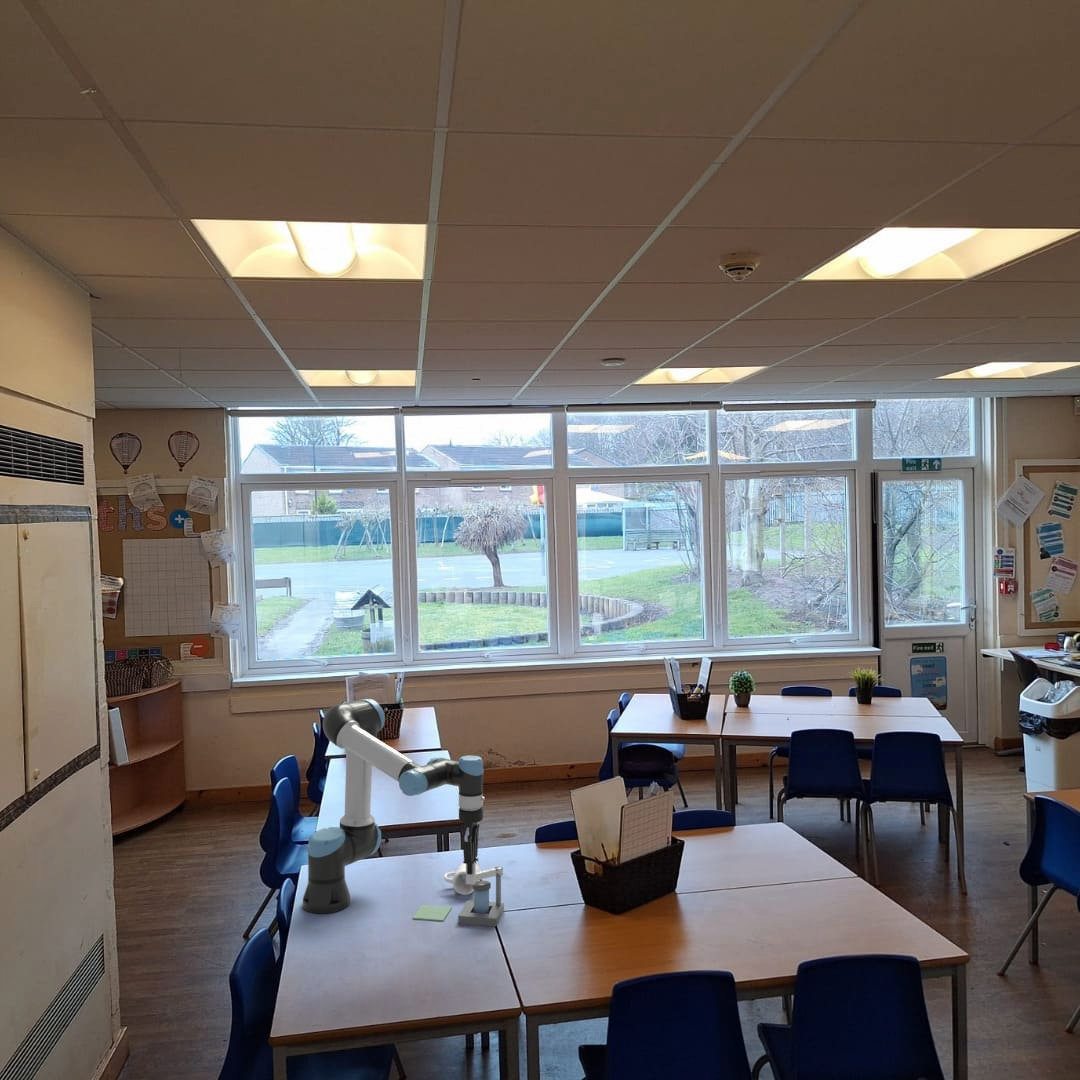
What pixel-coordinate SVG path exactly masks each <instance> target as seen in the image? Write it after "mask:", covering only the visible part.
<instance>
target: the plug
mask: <svg viewBox="0 0 1080 1080" xmlns="http://www.w3.org/2000/svg"><path fill="white" fill-rule="evenodd" d="M491 886H492V885H491V882H490V881H488V880H479V881H476V883H475V884H472V888H473V889H474V891H473V901H474V913H484V914H489V902H490V889H491V888H492V887H491Z"/></svg>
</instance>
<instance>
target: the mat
mask: <svg viewBox="0 0 1080 1080" xmlns="http://www.w3.org/2000/svg"><path fill="white" fill-rule="evenodd" d="M452 908H453V907H452V906H441V905H429V904H428V905H427V904H421V905H420V906H419V908H418V910H417V911H416V912H415V914H414V915H413V916H412V919H413V920H421V921H422V920H423V921H434V922H435V921H437V922H444V921H445V920H446V918H447V916H448V915H449V913H450V912H451V911H452Z"/></svg>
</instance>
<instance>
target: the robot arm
mask: <svg viewBox="0 0 1080 1080" xmlns="http://www.w3.org/2000/svg"><path fill="white" fill-rule="evenodd" d="M384 712H385V711H384V710H383V708H382V707H381V705H380V703H378V702H377V701H376V700H374V699H371V698H365V699H364V698H363V699H362V698H361V699H356V700H353V701H349V702H344V703H339V704H335V705H334V706H332V707H330V709H328V710H327V711H326V713H325V715H324V716H323V720H322V729H323V732H324V735H325V737H326V738H327V739H328V741H330V742H331V744H334V745H335V746H336V747H338V748H339V749H342V750H343V749H346V754H345V757H346V758H345V759H346V761H345V785H344V786H345V787H344V788H345V790H344V814H343V816H342V817H341V818H339V827H336V826H334V827H331V826H330V827H327V828H325V827H324V828H322V829H319V830H317V831H314V833H312V834H311V835H310V837H309V839H308V846H307V868H308V869H307V872H308V877H307V878H308V879H307V885H306V887H305V892H304V895H303V897H302V908H303V910H304V911H306V912H308V913H312V914H332V913H337V912H339V911H343V910H344V909H346V908H347V907H348V906H350V904H351V894H350V891H349V888H348V884H347V882H346V877H345V876H346V867H347V866H350V865H352V864H354V863H357V862H359V861H361V860H365V859H367V858H368V857H370V856H372V855H374V854H375V853H376V852H377V851H378V849H379V847H380V846H381V842H382V831H381V828H380V829H379V825H378V823H377V822H375V821H376V819H375V817H374V816H373V815H372V814H371V807H372V806H371V804H372V776H373V775H372V773H373V772H372V768H373V767H375V768H376V769H377V770H379V771H381V772H382V773H384V774H386V775H387V776H389V777H390V778H391V779H393V780H395V781H396V782H398V785H399V789H400V790H401V791H402V792H401V793H402V794H404V795H405V796H407V797H408V796H409V797H413V796H419V795H421V794H424V793H425V792H428V791H431V790H433V789H436V788H439V787H442V786H445V785H449V786H455V787H458V807H459V808H458V820H459V822H461V823H464V826H463V830H462V832H463V835H462V836H461V840H462V848H463V850H462V851H463V861H462V863H465V864H466V884H475V883H476V864H477V863H476V862H478V861H479V858H478V855H479V853H478V850H479V849H478V848H479V832H480V823H479V822H481V821H483V819H484V808H483V805H484V801H485V800H486V799H485V796H483V795H484V788H483V787H484V773H485V770H484V762H483V761H484V760H483V759H482V757H481V756H478V755H469V754H468V755H463V756H461V757H459V759H458V760H454V759H453V760H452V759H448V758H444V757H432V758H430V760H429V761H428V762H427V763H426V764H425V765H420V764H418V763H416V762H415V761H413V760H411V759H410V758H409V757H407V756H406V755H404V754H403V753H401V752H399V751H397V750H396V749H394V748H393V747H392V746H390V745H388V744H386V743H385V742H383V741H381V740H380V739H379V738H378V732H380V731H381V730H382V728H383V727H384V725H385V722H386V717H385V716H386V715H385V713H384ZM372 766H373V767H372Z"/></svg>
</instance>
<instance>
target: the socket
mask: <svg viewBox="0 0 1080 1080" xmlns="http://www.w3.org/2000/svg"><path fill="white" fill-rule="evenodd" d="M504 910H505V903H504V902H502V875H501V876H495V902H494V901H489V914H484V913H474V900H467V901H466V903H465V904H464V906H463V907H462V909H461V910H460V912H459V913H458V917H457V924H459V925H469V926H470V925H471V926H482V925H483V926H484V927H495V928H496V927H497V926H498V923H499V922H500V919H501V917H502V916H503V914H504Z"/></svg>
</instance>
